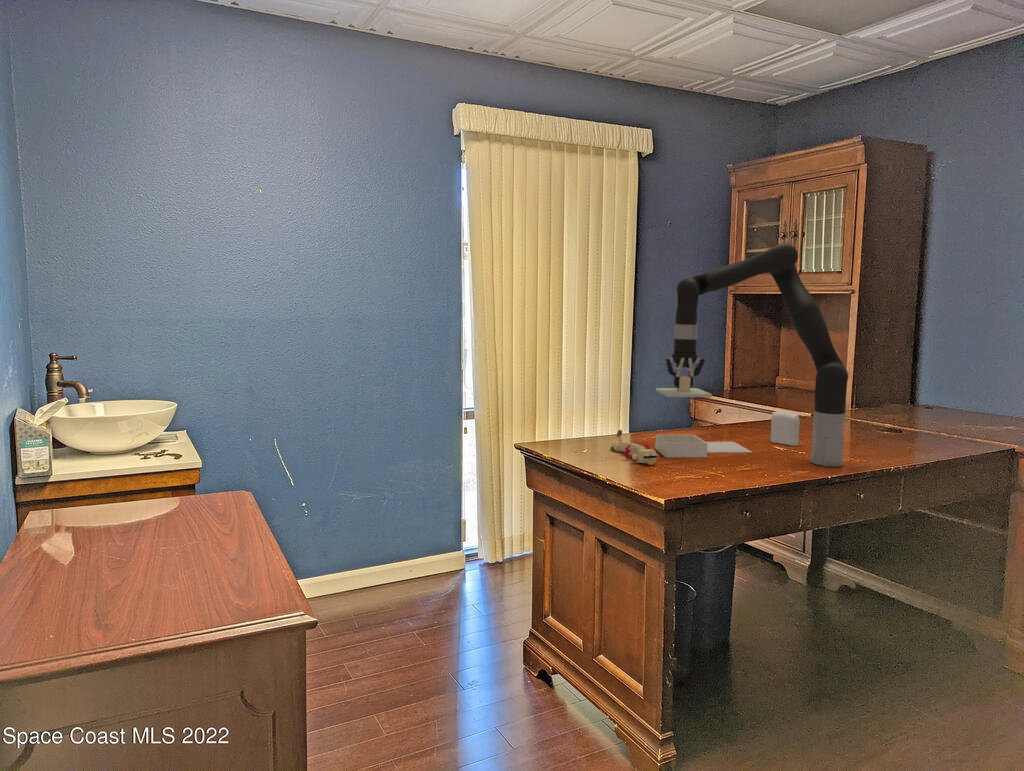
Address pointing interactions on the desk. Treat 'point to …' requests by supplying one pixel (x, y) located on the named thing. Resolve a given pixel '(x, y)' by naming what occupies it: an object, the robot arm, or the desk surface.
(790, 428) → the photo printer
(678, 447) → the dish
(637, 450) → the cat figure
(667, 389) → the lid
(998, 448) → the desk surface
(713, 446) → the mat
